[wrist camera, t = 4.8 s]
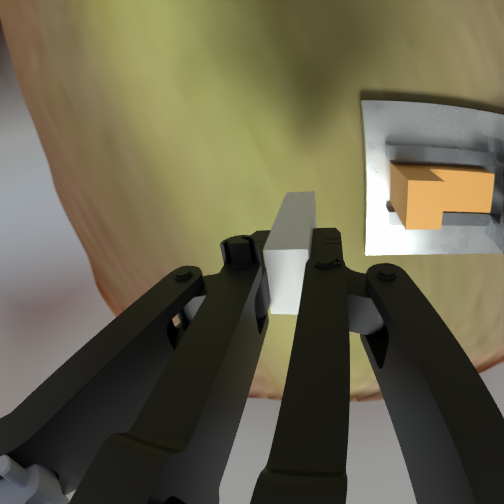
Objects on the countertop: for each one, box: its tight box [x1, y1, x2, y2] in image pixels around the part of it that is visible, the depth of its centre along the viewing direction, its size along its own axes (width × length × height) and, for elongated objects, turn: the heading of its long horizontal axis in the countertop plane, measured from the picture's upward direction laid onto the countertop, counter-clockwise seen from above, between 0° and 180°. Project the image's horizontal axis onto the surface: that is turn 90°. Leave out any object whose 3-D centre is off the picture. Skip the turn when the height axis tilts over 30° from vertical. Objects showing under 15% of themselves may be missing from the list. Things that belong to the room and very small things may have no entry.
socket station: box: [360, 100, 504, 255], centre depth 16 cm, size 12×22×5 cm, turn 98°
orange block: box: [390, 163, 495, 230], centre depth 16 cm, size 3×8×5 cm, turn 98°
